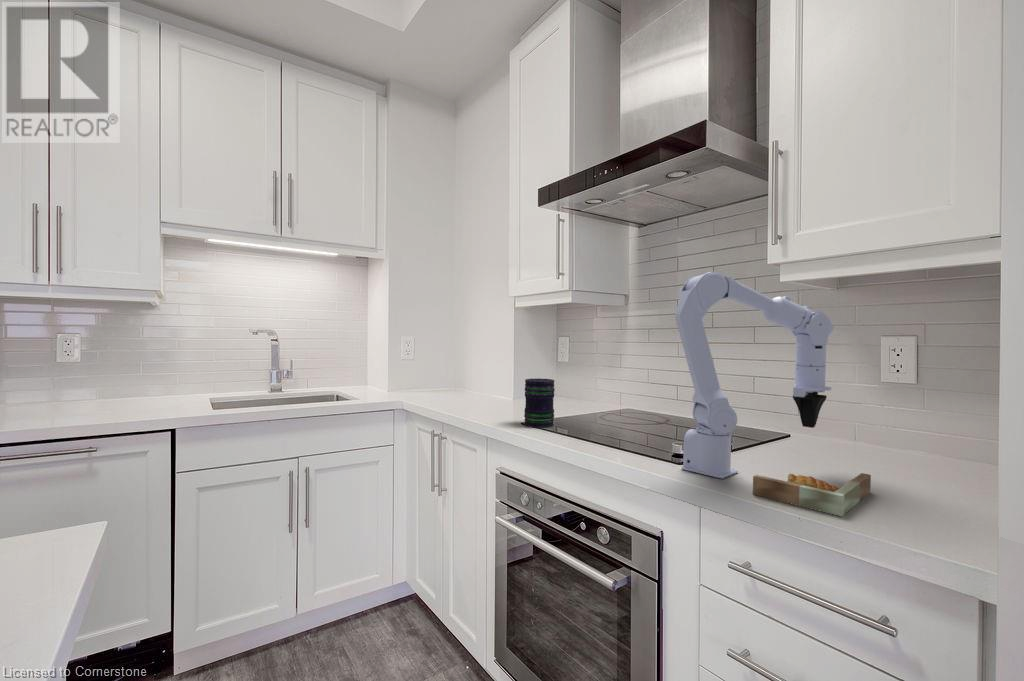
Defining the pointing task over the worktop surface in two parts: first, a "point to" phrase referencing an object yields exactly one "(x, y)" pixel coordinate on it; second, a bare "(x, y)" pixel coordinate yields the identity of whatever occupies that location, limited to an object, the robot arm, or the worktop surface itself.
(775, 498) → the two-tone corner bracket
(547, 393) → the storage jar
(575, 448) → the worktop surface
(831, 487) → the pastry
